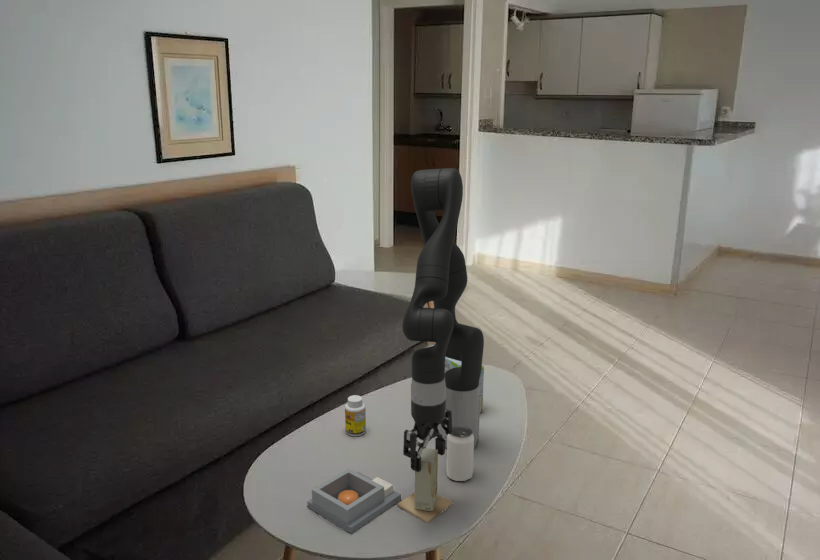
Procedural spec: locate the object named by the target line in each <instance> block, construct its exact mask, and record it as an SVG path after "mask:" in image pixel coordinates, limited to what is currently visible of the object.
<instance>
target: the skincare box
mask: <svg viewBox="0 0 820 560" xmlns="http://www.w3.org/2000/svg"><path fill="white" fill-rule="evenodd" d="M438 459H439V454H438V450H437V449H435V448H428V447H426V448H424V449H423V451H422V454H421V471H420V472H416V471H414V492H415V509H419V510H426V511H433V509H434V506H435V503H436V499H437V494H438V467H439V465H438V462H439V460H438Z"/></svg>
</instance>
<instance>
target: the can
mask: <svg viewBox="0 0 820 560" xmlns="http://www.w3.org/2000/svg"><path fill="white" fill-rule="evenodd" d="M472 433H473V431H472V429H470V428H469V427H466V426H454V427H452V433H451V434H448V436H447V448H446V477H448V479H450V480H451V479H452V480H451V481H453V480H455V481H454V482H457V481H464V482H467V481H469V480H470V479H471V478H472V477H473V474H474V452H475V451H474V449H475V448H474V436H473V434H472ZM468 479H469V480H468ZM466 480H467V481H466Z"/></svg>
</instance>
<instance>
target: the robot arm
mask: <svg viewBox="0 0 820 560" xmlns="http://www.w3.org/2000/svg"><path fill="white" fill-rule="evenodd" d="M410 189H411V191H410V192H411V198H412V203H413V207H414V210H415V214H416V218H417V222H418V226H419V230H420V235H421V239H422V243H423V248H422V249H421V251H420V253H419V255H418V258H417V263H416V270H415V271H416V272H415V280H414V288H413V292H412V296H411V299H410V302H409V304H408V306H407V309H406V312H405V313H404V317H403V319H402V325H401V326H402V333H403V335H404V337H405V338H406V339H407V340H409V341H410V342H411V341H412V342H423V343H424V342H426V343H432V342H433V343H435V344H433V345H434V346H432V345H430V346H431V347H429V346H426V348H425V347H422V348H419V349H416V350H415V351H414V352H413V353H412V357H411V383H410V414H411V417H412V419H413V421H414V425H413V429H411V430H408V429H405V430H404V432H403V450H402V451H403V453H402V454H403V456H405V457H407V458H409V459H410V469H411V470H412V471H414V472H415V471H416V472H420V471H421V454H422V451H423V449H424V448H427V446H428V443H429V442H430V441H431V440H432V439H433V438H435V439H434V440H435V442H434V444H435V448H434V449H437V450H438V456H439V455H440V456H444V455H445V454H446V449H447V436H448V434H451V433H452V427H454V426H466V427H469V428H470V429H472V431H473V433H472V434H473V436H474V449H476V447H477V445H478V442H479V440H480V439H479V437H480V434H479V433H480V416H481V415H480V414H481V413H480V409H479V408H478V400H479V379H480V375H481V370H482V366H483V356H484V346H485V343H484V342H485V340H484V339H485V338H484V333H483V332H482V330H481V329H480V328H478V327H475V326H471V325H467V324H463V323H459V322H458V321H457V316H456V306H457V303H458V302H459V300H460V298H461V297H462V296H463V294H464V292H465V289H466V287H467V284H468V272H467V264H466V259H465V255H464V253H463V251H462V249H461V248H460V247H459V246H458V245H457V243H456V242H455V237H456V234H457V233H456V232H457V228H458V224H459V217H460V214H461V208H462V203H463V196H464V195H463V193H464V192H463V191H464V185H463V178H462V175H461V173H460V171H459V170H458V169H456V168H453V167H448V168H447V167H446V168H445V167H444V168H433V169H430V168H429V169H420V170H416V171H415V172H413V174H412V176H411V181H410ZM435 211H443V212H442V217H441V219H440V222H439V221H438V219H437V216H436V214H435ZM431 302H433V307H425V305H427V303H431ZM445 357H447V358H451V359H454V360H458V361H461V367H456V368H452V369H449V370H447V371H446V372H445ZM418 439H419V440H421V441H422V442H419V441H418ZM417 446H418V448H417Z"/></svg>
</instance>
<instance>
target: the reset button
mask: <svg viewBox="0 0 820 560" xmlns="http://www.w3.org/2000/svg"><path fill="white" fill-rule="evenodd" d="M357 499H359V496H358V493H357V492H355V491H353V490H345V491H342V492H341V493H340V494H339V495H338V498H337V500H339V501H341V502H342V503H344V504H346V505H349V504H351V503H352V502H354V501H355V500H357Z"/></svg>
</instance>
